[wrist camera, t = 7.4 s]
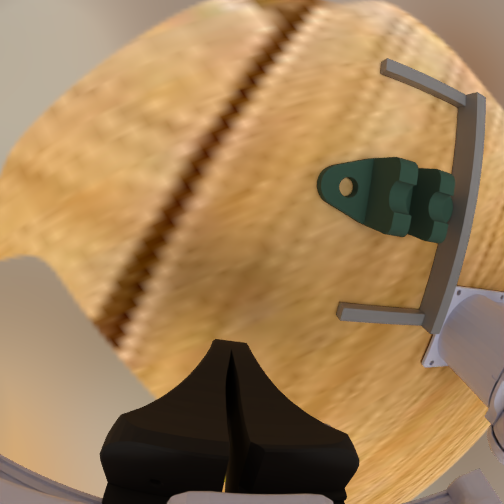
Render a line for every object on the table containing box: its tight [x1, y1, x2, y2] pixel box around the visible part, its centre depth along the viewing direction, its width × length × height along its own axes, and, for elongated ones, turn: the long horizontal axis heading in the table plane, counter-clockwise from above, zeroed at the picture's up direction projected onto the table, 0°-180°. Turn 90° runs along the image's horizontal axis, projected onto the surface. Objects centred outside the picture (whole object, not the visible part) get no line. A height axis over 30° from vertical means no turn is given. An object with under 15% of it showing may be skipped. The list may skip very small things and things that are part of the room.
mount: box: [317, 157, 455, 243], centre depth 18 cm, size 11×4×5 cm, turn 83°
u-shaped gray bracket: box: [336, 58, 486, 334], centre depth 19 cm, size 8×19×2 cm, turn 171°
